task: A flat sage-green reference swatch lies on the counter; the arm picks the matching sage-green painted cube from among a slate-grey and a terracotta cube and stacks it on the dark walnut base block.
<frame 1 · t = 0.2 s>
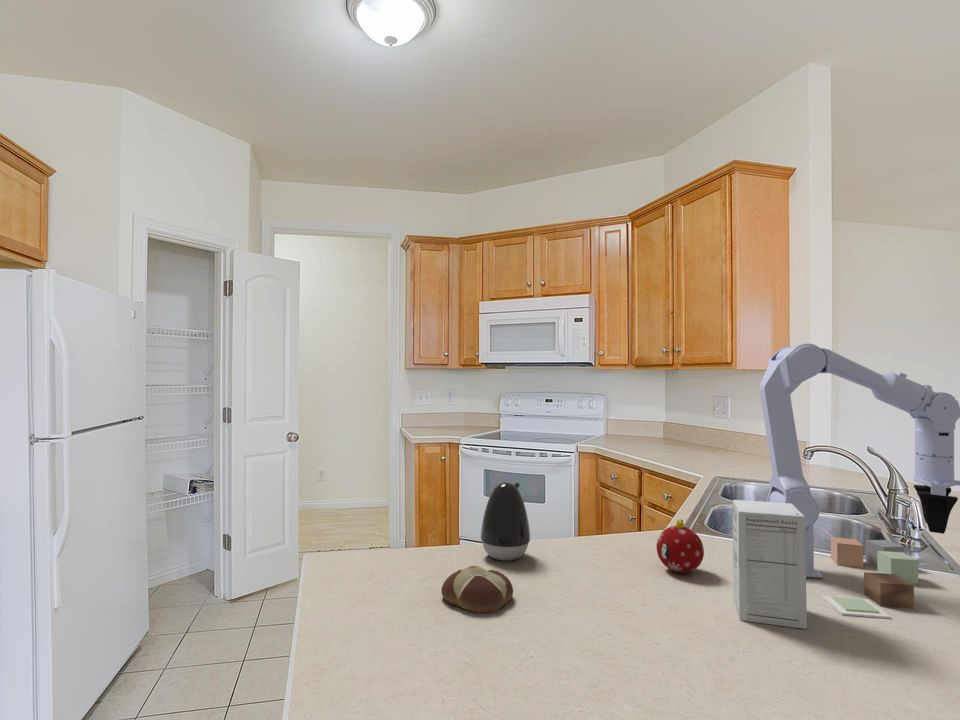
hand: (934, 527, 102), 10 cm above the worktop, fingers open, 7 cm apart
slate grey block: (884, 565, 110), on the worktop
terracotta block: (846, 563, 111), on the worktop
bread: (478, 600, 91), on the worktop
supplement box: (767, 614, 86), on the worktop
reference swatch: (854, 607, 89), on the worktop
walnut base block: (888, 602, 92), on the worktop
sage block: (897, 579, 102), on the worktop
christmas ornament: (679, 572, 105), on the worktop
black egg-shaped figure: (505, 557, 112), on the worktop
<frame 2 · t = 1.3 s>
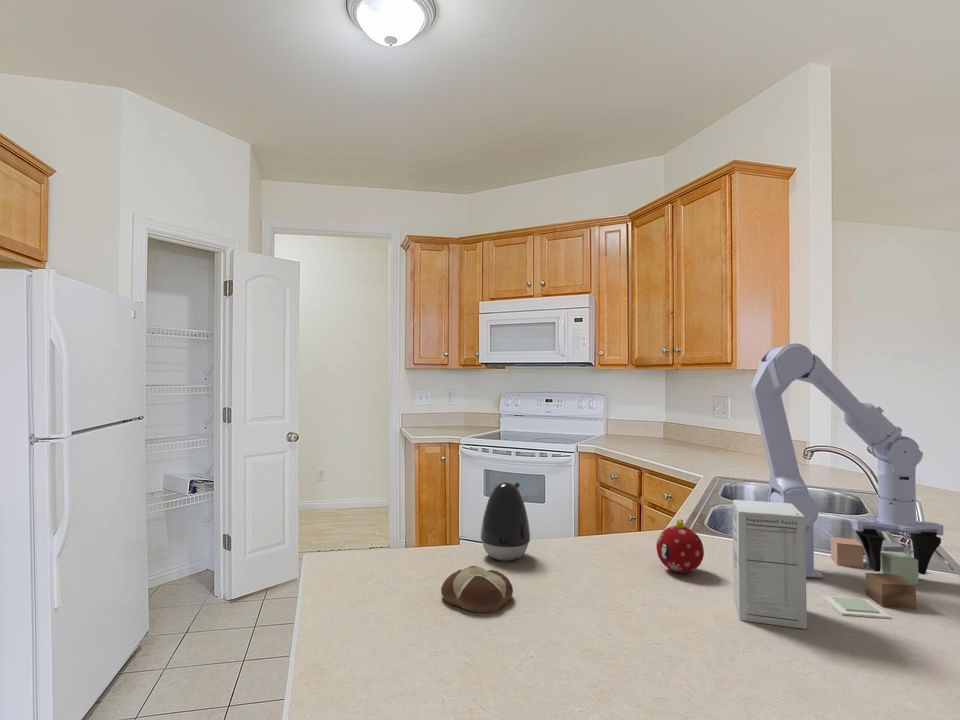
hand: (897, 571, 102), 1 cm above the worktop, fingers open, 7 cm apart
nothing on the worktop moved.
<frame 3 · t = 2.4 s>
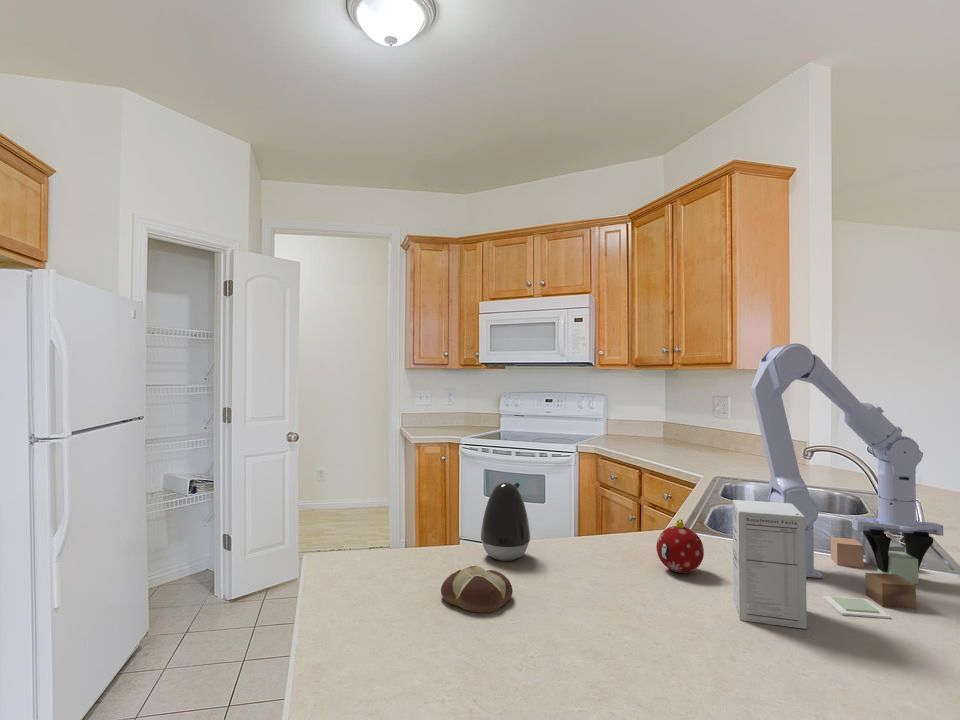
hand: (897, 571, 102), 1 cm above the worktop, fingers closed on sage block, 4 cm apart
sage block: (897, 578, 102), on the worktop, touching gripper
everything else where it was.
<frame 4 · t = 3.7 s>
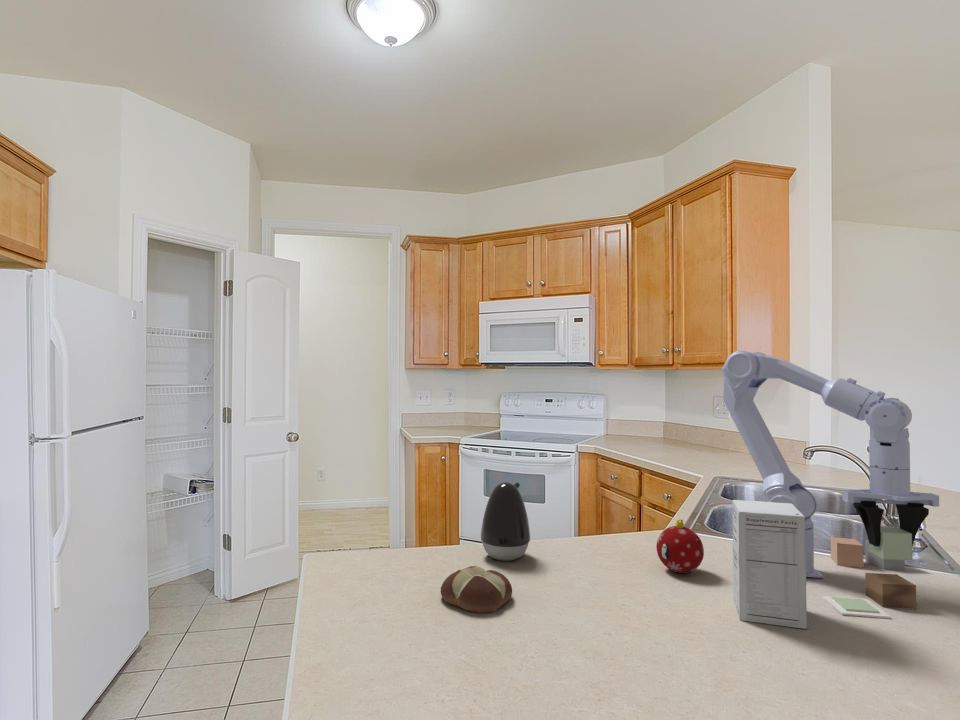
hand: (890, 545, 95), 8 cm above the worktop, fingers closed on sage block, 4 cm apart
sage block: (890, 555, 95), point 7 cm above the worktop, touching gripper
everything else where it was.
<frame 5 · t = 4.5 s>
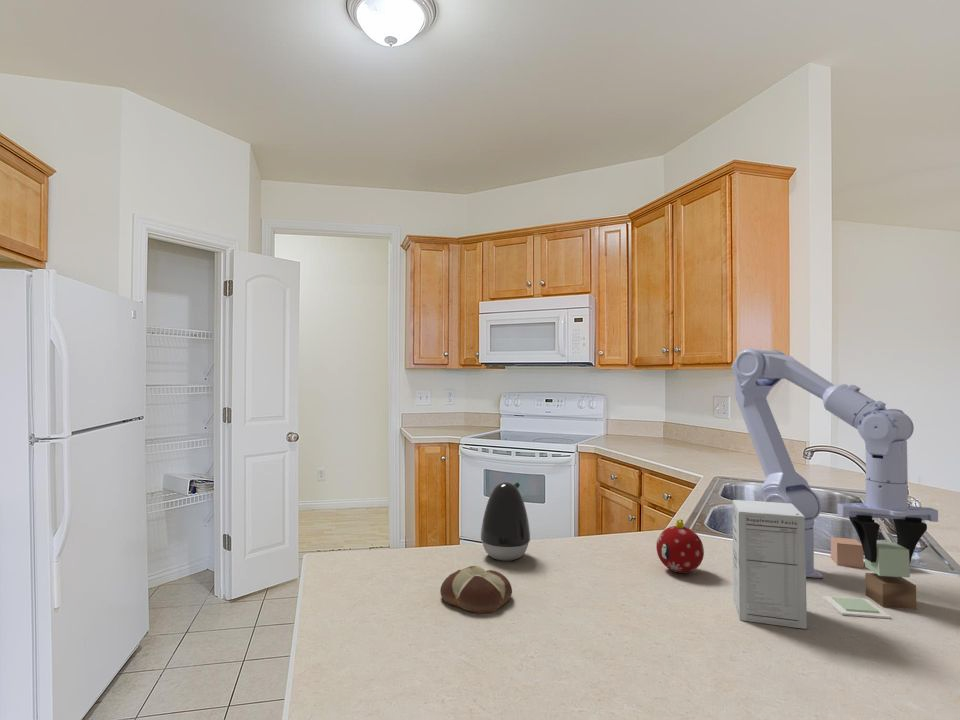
hand: (887, 561, 92), 7 cm above the worktop, fingers closed on sage block, 4 cm apart
sage block: (886, 571, 92), point 5 cm above the worktop, touching gripper
everything else where it was.
when the fingers open (7 cm above the worktop, at t = 5.1 s): sage block stays where it is, resting on walnut base block.
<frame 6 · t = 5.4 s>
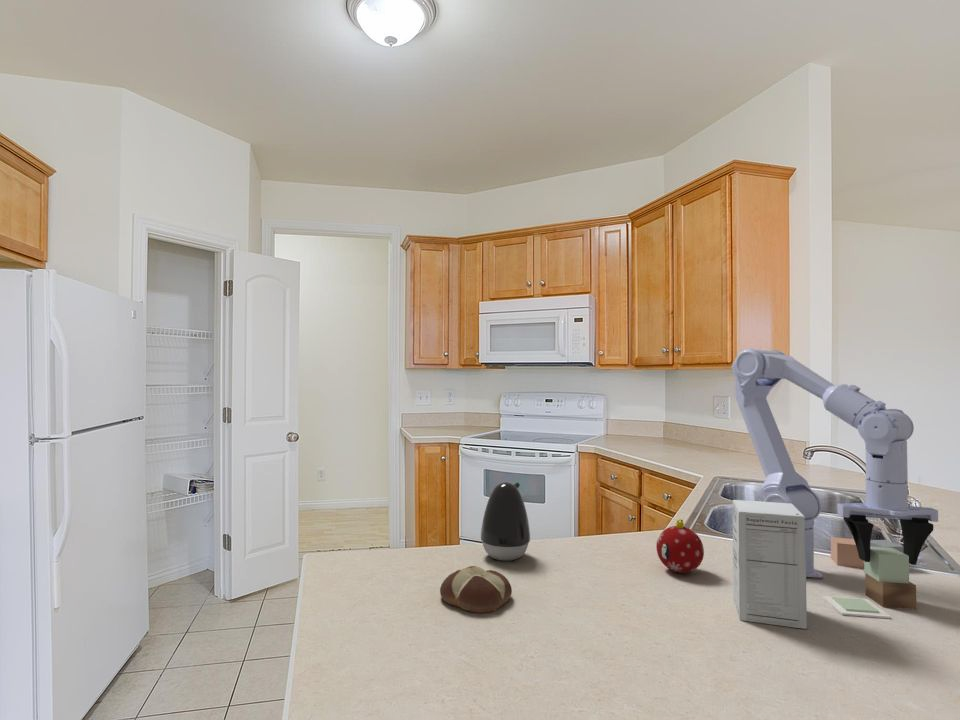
hand: (887, 561, 92), 7 cm above the worktop, fingers open, 6 cm apart
walnut base block: (890, 602, 91), on the worktop, touching sage block
sage block: (886, 577, 92), point 4 cm above the worktop, touching walnut base block
everything else where it was.
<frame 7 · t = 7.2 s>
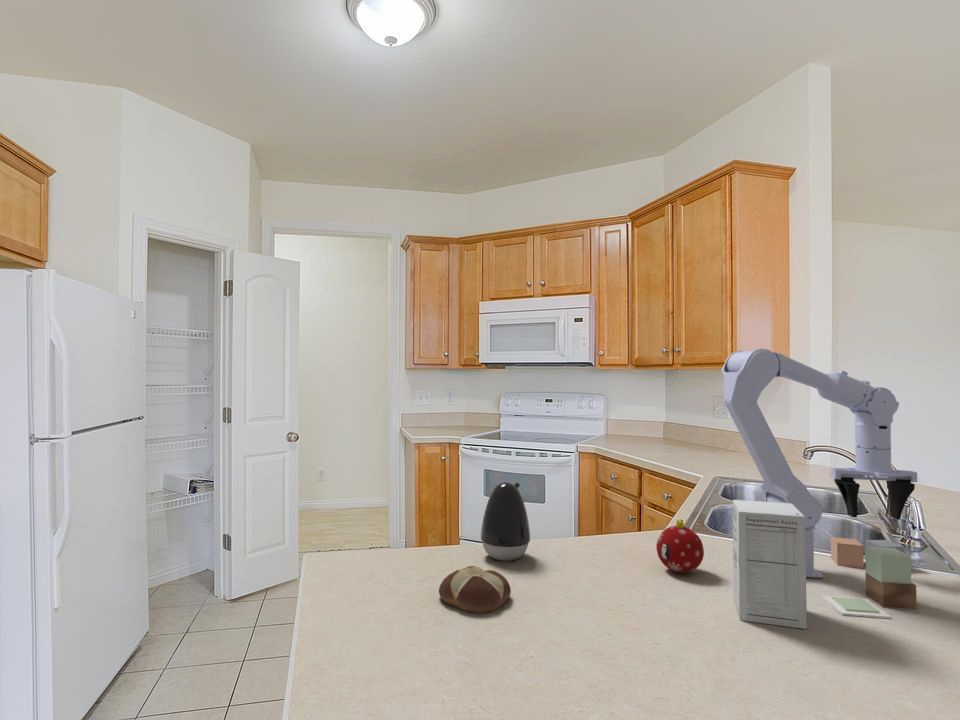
hand: (873, 517, 107), 10 cm above the worktop, fingers open, 7 cm apart
nothing on the worktop moved.
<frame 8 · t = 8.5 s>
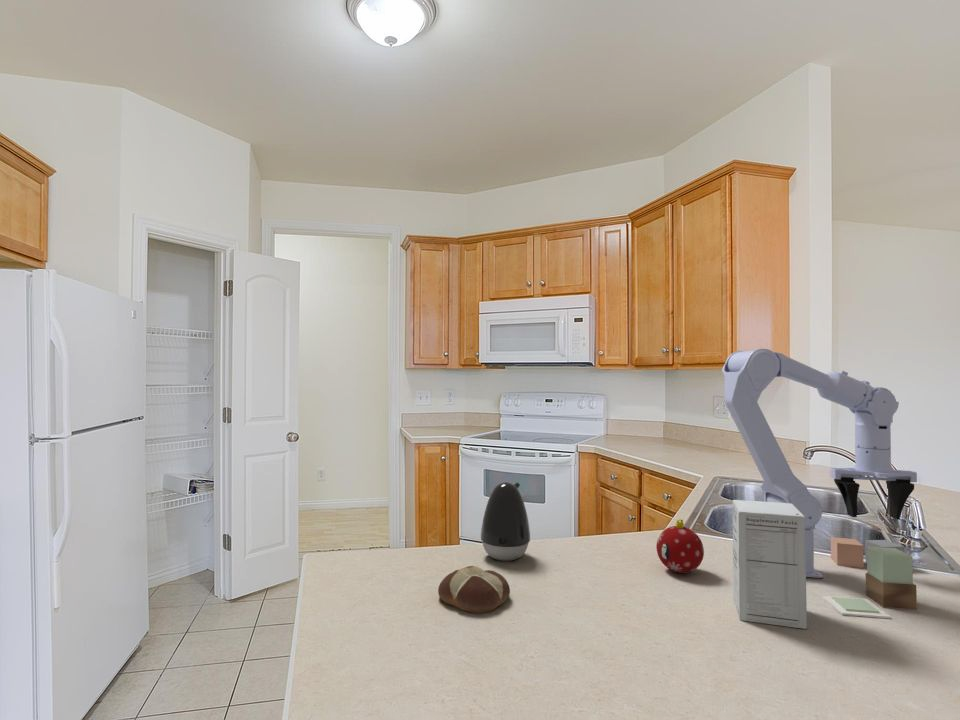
hand: (873, 517, 107), 10 cm above the worktop, fingers open, 7 cm apart
nothing on the worktop moved.
at the end: sage block 0.1 cm off-centre on the walnut base block, point 4.0 cm above the walnut base block's base; sage block tilted 0°; the gripper is holding nothing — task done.
